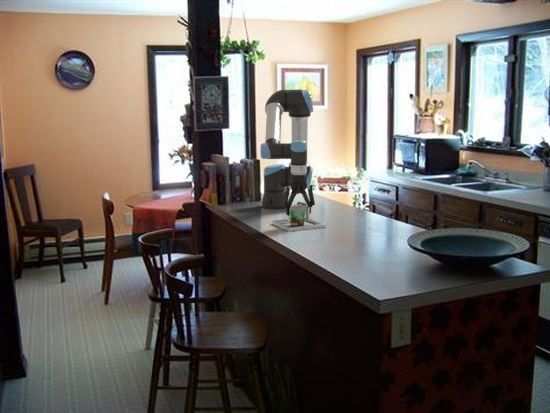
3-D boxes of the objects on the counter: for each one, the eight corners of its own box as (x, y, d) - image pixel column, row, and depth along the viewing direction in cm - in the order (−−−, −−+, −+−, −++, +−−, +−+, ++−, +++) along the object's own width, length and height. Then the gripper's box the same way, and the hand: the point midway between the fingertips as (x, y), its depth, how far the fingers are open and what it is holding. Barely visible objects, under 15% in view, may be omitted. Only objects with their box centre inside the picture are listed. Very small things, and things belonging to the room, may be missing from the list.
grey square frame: (271, 224, 289) (271, 220, 289) (308, 220, 297) (308, 217, 297) (288, 231, 273) (288, 228, 273) (326, 227, 281) (326, 224, 281)
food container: (302, 228, 279) (303, 207, 277) (289, 227, 280) (290, 206, 278) (309, 222, 290) (310, 202, 288) (296, 221, 292) (297, 201, 290)
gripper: (281, 176, 273) (281, 224, 277) (322, 173, 282) (322, 220, 286) (274, 174, 280) (274, 221, 284) (315, 171, 289) (314, 217, 293)
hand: (298, 221), depth 285 cm, fingers closed on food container, 9 cm apart
